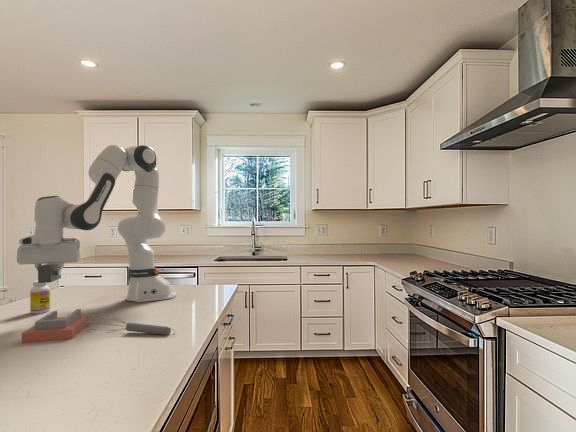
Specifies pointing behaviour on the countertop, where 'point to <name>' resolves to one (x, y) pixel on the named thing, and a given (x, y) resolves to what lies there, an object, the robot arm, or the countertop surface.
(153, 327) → the kitchen whisk
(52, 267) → the dark gray eraser
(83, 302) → the countertop surface
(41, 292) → the supplement bottle
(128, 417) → the countertop surface
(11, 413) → the countertop surface
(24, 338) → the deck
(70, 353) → the countertop surface
